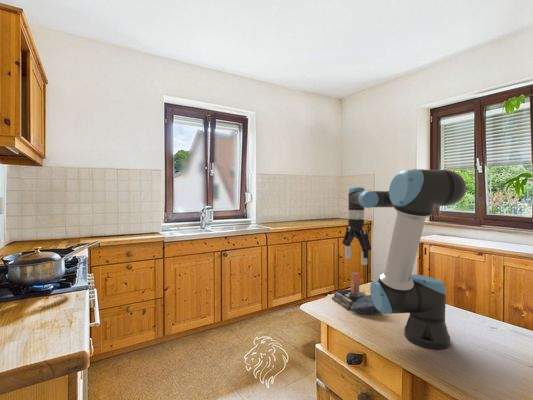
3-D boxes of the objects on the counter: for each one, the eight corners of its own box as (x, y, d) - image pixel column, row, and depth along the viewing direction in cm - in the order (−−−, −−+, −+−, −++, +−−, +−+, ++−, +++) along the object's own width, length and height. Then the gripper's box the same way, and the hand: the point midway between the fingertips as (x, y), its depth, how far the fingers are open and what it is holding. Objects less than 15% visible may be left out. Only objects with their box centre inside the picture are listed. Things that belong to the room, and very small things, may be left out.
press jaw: (365, 301, 140) (365, 273, 140) (349, 303, 137) (349, 274, 137) (360, 298, 144) (360, 271, 144) (344, 300, 141) (344, 272, 141)
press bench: (376, 306, 137) (376, 297, 137) (347, 310, 132) (347, 301, 132) (358, 296, 151) (358, 288, 151) (331, 299, 146) (332, 291, 146)
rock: (391, 318, 125) (385, 304, 134) (386, 302, 123) (380, 290, 133) (356, 326, 128) (353, 312, 138) (351, 310, 127) (348, 298, 136)
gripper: (379, 220, 129) (379, 267, 129) (348, 216, 152) (348, 255, 153) (365, 220, 126) (365, 268, 127) (336, 216, 150) (335, 256, 151)
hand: (355, 261), depth 140 cm, fingers open, 13 cm apart
